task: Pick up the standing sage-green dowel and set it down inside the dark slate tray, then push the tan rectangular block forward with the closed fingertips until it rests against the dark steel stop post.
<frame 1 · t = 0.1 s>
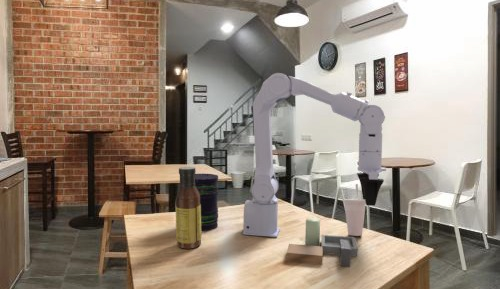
hand: (368, 202, 96), 10 cm above the table, tool pointing down, fingers open, 6 cm apart
smoothie: (355, 235, 101), on the table, touching gripper
sauce bottle: (188, 246, 91), on the table
stop post: (344, 261, 83), on the table
slate tray: (338, 248, 91), on the table
sage dowel: (312, 244, 93), on the table
storage jar: (201, 226, 107), on the table
tan rectangular block: (304, 259, 85), on the table
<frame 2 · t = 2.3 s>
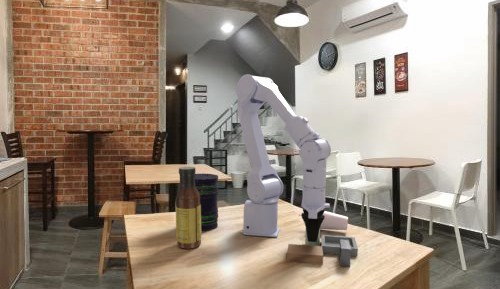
hand: (312, 238, 93), 2 cm above the table, tool pointing down, fingers closed on sage dowel, 4 cm apart
smoothie: (348, 223, 103), point 3 cm above the table
sage dowel: (312, 244, 93), on the table, touching gripper
everything else where it was.
when the fingers open (3 cm above the table, at t = 4.8 s): sage dowel stays where it is, resting on slate tray.
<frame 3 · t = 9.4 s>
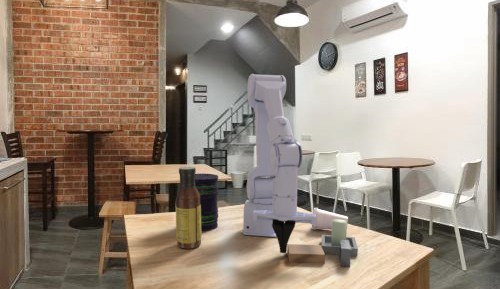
hand: (283, 251, 86), 1 cm above the table, tool pointing down, fingers closed
sage dowel: (338, 246, 91), resting on slate tray
tan rectangular block: (305, 259, 85), on the table, touching gripper
everything else where it was.
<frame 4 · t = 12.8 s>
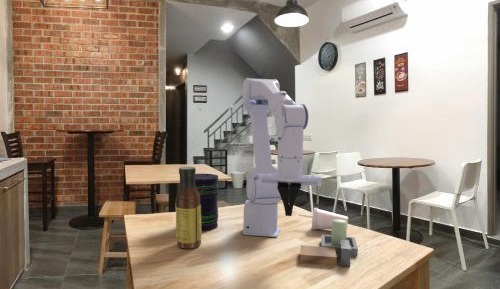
hand: (288, 214, 85), 10 cm above the table, tool pointing down, fingers closed
tan rectangular block: (317, 261, 84), on the table
everything else where it was.
at the end: sage dowel 0.0 cm off-centre on the slate tray, point 0.4 cm above the slate tray's base; sage dowel tilted 0°; tan rectangular block 0.3 cm from the target spot, on the table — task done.
